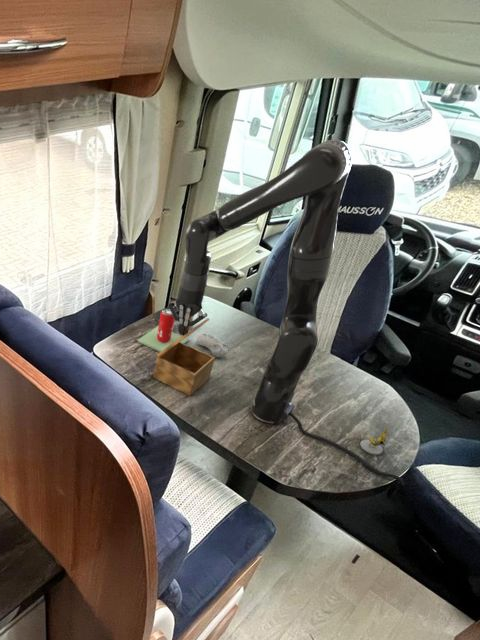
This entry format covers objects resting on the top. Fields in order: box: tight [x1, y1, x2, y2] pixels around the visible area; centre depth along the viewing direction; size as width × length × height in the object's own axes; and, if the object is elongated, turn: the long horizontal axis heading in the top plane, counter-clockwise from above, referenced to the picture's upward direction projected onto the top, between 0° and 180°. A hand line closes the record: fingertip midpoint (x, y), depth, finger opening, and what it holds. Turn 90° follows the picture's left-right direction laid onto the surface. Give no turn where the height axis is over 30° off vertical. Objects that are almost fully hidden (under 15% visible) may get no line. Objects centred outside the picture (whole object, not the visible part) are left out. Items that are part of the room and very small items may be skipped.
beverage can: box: [157, 308, 175, 343], centre depth 165 cm, size 5×5×12 cm
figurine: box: [359, 427, 388, 456], centre depth 125 cm, size 6×6×8 cm
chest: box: [152, 342, 216, 396], centre depth 149 cm, size 14×13×9 cm
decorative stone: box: [195, 333, 230, 358], centre depth 163 cm, size 13×7×5 cm, turn 39°
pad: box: [137, 325, 189, 353], centre depth 169 cm, size 14×14×1 cm
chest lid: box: [156, 317, 210, 357], centre depth 143 cm, size 15×13×1 cm
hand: (182, 333), depth 143 cm, fingers closed
